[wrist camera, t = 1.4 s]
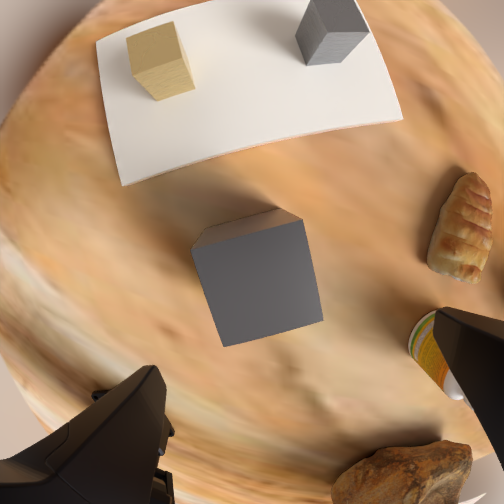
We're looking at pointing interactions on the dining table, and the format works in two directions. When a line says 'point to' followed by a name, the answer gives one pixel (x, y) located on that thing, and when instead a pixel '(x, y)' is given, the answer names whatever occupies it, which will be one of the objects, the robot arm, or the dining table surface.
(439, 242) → the pastry
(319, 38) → the steel post
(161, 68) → the pale wooden block
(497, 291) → the dining table surface
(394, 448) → the rough brown rock
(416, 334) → the supplement bottle
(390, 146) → the dining table surface
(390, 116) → the board
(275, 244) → the dark gray block
